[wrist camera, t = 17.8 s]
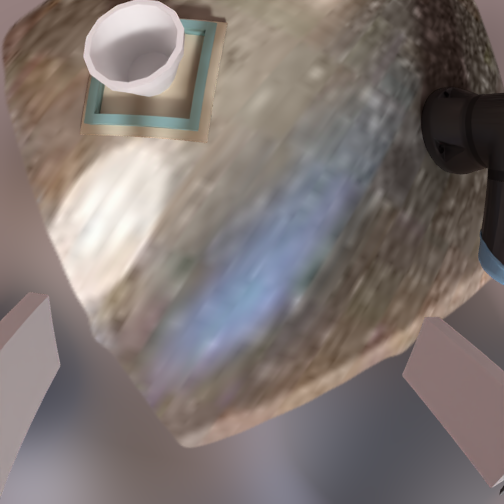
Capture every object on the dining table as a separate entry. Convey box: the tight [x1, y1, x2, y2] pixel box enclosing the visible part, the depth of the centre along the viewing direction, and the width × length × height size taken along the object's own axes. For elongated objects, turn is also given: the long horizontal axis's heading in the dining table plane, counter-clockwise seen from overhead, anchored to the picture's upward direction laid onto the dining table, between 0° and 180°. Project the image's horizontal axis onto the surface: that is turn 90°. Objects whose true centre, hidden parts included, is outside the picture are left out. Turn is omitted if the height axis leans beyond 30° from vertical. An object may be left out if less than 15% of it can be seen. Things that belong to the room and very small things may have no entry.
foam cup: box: [84, 0, 185, 97], centre depth 29 cm, size 10×9×13 cm
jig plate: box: [80, 18, 227, 143], centre depth 34 cm, size 17×17×4 cm
